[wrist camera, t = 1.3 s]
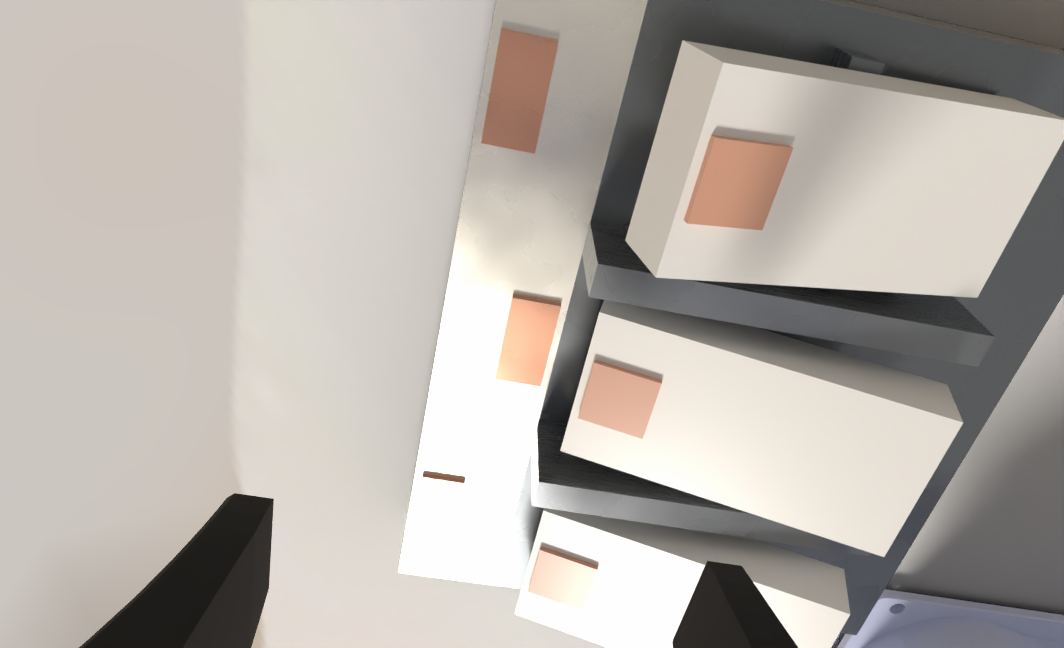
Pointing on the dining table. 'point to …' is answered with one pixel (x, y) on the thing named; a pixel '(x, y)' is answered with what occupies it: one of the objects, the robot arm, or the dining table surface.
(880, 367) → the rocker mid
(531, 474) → the switch panel
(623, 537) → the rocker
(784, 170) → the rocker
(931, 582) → the dining table surface
